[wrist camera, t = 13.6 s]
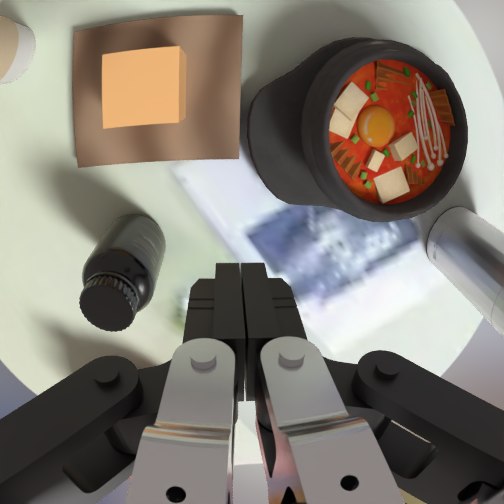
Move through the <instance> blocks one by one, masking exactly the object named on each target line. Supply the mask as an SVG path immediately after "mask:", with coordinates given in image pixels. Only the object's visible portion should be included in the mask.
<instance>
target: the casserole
mask: <svg viewBox="0 0 504 504" xmlns="http://www.w3.org/2000/svg"><path fill="white" fill-rule="evenodd" d="M247 138H248V144H249V150H250V155H251V158H252V161H253V163H254V166H255V168H256V171H257V173H258V175H259V176H260V178H261V179H262V181H263V183H264V184H265V186H266V187H267V188H268V189H269V190H270V191H271V192H272V194H273V195H274V196H275V197H276V198H278V199H280V200H282V201H284V202H286V203H288V204H294V205H317V206H327V207H331V208H335V209H339V210H343V211H344V212H346V213H348V214H350V215H352V216H355V217H357V218H359V219H364V220H368V221H372V222H391V221H396V220H401V219H406V218H412V217H414V216H417V215H419V214H422V213H424V212H426V211H427V210H429V209H430V208H432V207H433V206H435V205H436V204H437V203H438V202H439V201H441V200H442V199H443V198H444V197H445V196H446V195H447V193H448V192H449V190H450V189H451V188H452V186H453V185H454V184H455V182H456V180H457V178H458V176H459V174H460V172H461V169H462V166H463V163H464V160H465V157H466V150H467V143H468V126H467V119H466V114H465V109H464V106H463V103H462V101H461V98H460V95H459V94H458V92H457V90H456V88H455V86H454V83H453V82H452V80H451V78H450V76H449V75H448V73H447V72H446V71H445V70H444V69H443V68H442V67H440V66H439V65H437V64H435V63H434V62H433V61H431V60H430V59H429V58H428V57H427V56H425V55H424V54H423V53H422V52H420V51H418V50H416V49H414V48H412V47H410V46H409V45H406V44H403V43H399V42H396V41H392V40H377V39H372V38H354V37H353V38H348V39H343V40H338V41H335V42H333V43H330V44H328V45H326V46H324V47H322V48H320V49H319V50H317V51H316V52H315V53H314V54H312V55H311V56H310V57H309V58H307V59H306V60H305V61H304V62H302V63H301V64H300V65H299V66H298V67H296V68H295V69H294V70H293V71H291V72H289V73H287V74H285V75H284V76H282V77H280V78H278V79H276V80H275V81H273V82H271V83H270V84H268V85H267V86H265V87H264V88H262V89H260V91H259V92H258V94H257V95H256V97H255V98H254V100H253V101H252V103H251V107H250V111H249V115H248V123H247Z"/></svg>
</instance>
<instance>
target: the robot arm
mask: <svg viewBox="0 0 504 504" xmlns="http://www.w3.org/2000/svg"><path fill="white" fill-rule="evenodd" d="M427 254H428V257H429V260H430V261H431V263H432V264H433V265H434V266H435V267H436V268H437V269H438V270H439V271H440V272H442V273H443V274H444V275H445V276H446V277H447V279H448V280H449V281H450V282H451V283H452V284H453V285H454V286H455V287H456V288H457V289H458V290H459V291H460V292H461V293H462V294H463V295H464V296H465V297H466V298H467V299H468V300H469V301H470V302H471V303H472V304H473V305H474V306H475V307H476V309H477V310H478V311H479V312H480V313H481V314H482V315H483V316H484V317H485V318H486V319H487V320H488V322H490V324H491V325H492V326H493V327H494V328H495V329H496V330H497V332H498V333H499V334H500V335H501V336H502V337H503V338H504V233H503V232H502V231H500V230H499V229H497V228H496V227H494V226H493V225H491V224H490V223H488V222H487V221H485V220H484V219H482V218H481V217H479V216H478V215H476V214H475V213H473V212H471V211H470V210H468V209H466V208H464V207H454V208H452V209H449V210H448V211H446V212H445V213H443V214H442V215H441V216H440V217H439V218H438V220H437V221H436V223H435V224H434V226H433V228H432V229H431V231H430V234H429V237H428V242H427ZM244 379H245V390H246V401H255V405H256V421H255V424H256V430H257V435H258V440H259V445H260V450H261V455H262V460H263V464H264V469H265V474H266V479H267V485H268V499H269V504H406V503H405V502H404V500H403V497H402V495H401V493H400V491H399V488H401V489H402V490H404V491H406V492H407V493H409V494H411V495H412V496H414V497H416V498H418V499H420V500H421V501H423V502H425V503H427V504H504V411H503V410H501V409H499V408H497V407H495V406H493V405H491V404H490V403H488V402H486V401H484V400H482V399H480V398H478V397H476V396H474V395H472V394H471V393H469V392H467V391H465V390H463V389H461V388H459V387H457V386H455V385H454V384H452V383H450V382H448V381H446V380H444V379H442V378H441V377H439V376H437V375H435V374H433V373H431V372H429V371H428V370H426V369H424V368H422V367H420V366H418V365H416V364H415V363H413V362H411V361H409V360H407V359H405V358H404V357H402V356H400V355H398V354H396V353H393V352H389V351H382V350H379V351H372V352H369V353H367V354H365V355H364V356H362V358H361V359H360V360H359V362H358V364H351V363H344V362H337V361H333V360H329V359H327V358H325V357H323V356H322V355H321V353H320V351H319V349H318V348H317V347H316V346H315V345H314V344H312V343H311V342H309V341H308V340H307V337H306V333H305V331H304V327H303V324H302V321H301V318H300V315H299V311H298V308H297V305H296V302H295V299H294V296H293V293H292V290H291V287H290V286H289V285H288V284H287V283H286V282H285V281H284V280H283V279H282V278H268V277H267V273H266V268H265V264H264V263H241V270H240V267H239V263H216V273H215V279H198V281H197V282H196V283H195V284H194V285H193V286H192V287H191V290H190V297H189V303H188V310H187V316H186V323H185V330H184V337H183V344H182V345H181V346H179V347H178V348H177V349H176V351H175V352H174V354H173V357H172V359H171V360H170V361H168V362H166V363H164V364H161V365H158V366H154V367H149V368H144V369H139V370H137V368H136V367H135V365H134V364H133V363H132V362H131V361H129V360H128V359H126V358H123V357H119V356H104V357H100V358H97V359H95V360H93V361H91V362H90V363H88V364H86V365H85V366H83V367H82V368H80V369H79V370H77V371H76V372H74V373H72V374H71V375H69V376H68V377H66V378H65V379H63V380H61V381H60V382H58V383H57V384H55V385H54V386H52V387H51V388H49V389H47V390H46V391H44V392H43V393H41V394H40V395H38V396H36V397H35V398H33V399H32V400H31V401H29V402H27V403H26V404H24V405H22V406H21V407H19V408H18V409H16V410H15V411H13V412H11V413H10V414H8V415H7V416H5V417H3V418H2V419H0V504H96V503H97V502H99V501H100V500H101V499H103V498H104V497H105V496H106V495H108V494H109V493H110V492H112V491H113V490H114V489H115V488H117V487H118V486H119V485H120V484H122V483H123V482H124V481H125V480H127V479H128V478H129V477H130V476H131V475H132V476H131V480H130V485H129V489H128V493H127V498H126V502H125V504H233V473H234V448H235V424H236V422H237V419H238V401H244ZM391 420H393V421H395V422H397V423H398V424H400V425H402V426H403V427H405V428H407V429H409V430H410V431H412V432H414V433H415V434H417V435H419V436H421V437H422V438H424V439H426V440H428V441H429V442H431V443H428V442H425V441H424V440H422V439H420V438H418V437H417V436H415V435H413V434H411V433H410V432H408V431H406V430H405V429H403V428H401V427H400V426H398V425H396V424H394V423H393V422H391ZM398 487H399V488H398Z"/></svg>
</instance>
